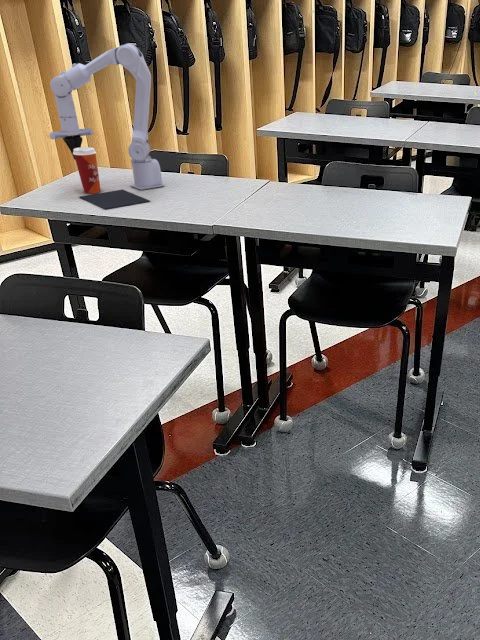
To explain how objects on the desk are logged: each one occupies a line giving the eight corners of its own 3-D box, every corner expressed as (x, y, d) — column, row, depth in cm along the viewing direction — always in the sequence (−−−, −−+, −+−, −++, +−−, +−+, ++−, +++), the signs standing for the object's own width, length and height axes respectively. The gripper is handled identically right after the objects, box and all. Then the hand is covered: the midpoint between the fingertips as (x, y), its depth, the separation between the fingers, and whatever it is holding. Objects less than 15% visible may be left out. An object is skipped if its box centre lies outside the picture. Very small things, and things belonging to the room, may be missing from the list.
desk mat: (122, 190, 234) (122, 189, 234) (149, 201, 222) (149, 200, 222) (79, 197, 226) (79, 196, 225) (105, 209, 214) (105, 208, 213)
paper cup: (99, 194, 229) (91, 151, 221) (78, 194, 229) (68, 150, 221) (106, 189, 236) (98, 146, 227) (85, 188, 236) (76, 146, 227)
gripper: (83, 113, 230) (91, 155, 238) (42, 117, 222) (52, 160, 230) (91, 115, 226) (100, 158, 234) (50, 119, 218) (60, 163, 226)
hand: (77, 159), depth 232 cm, fingers closed
